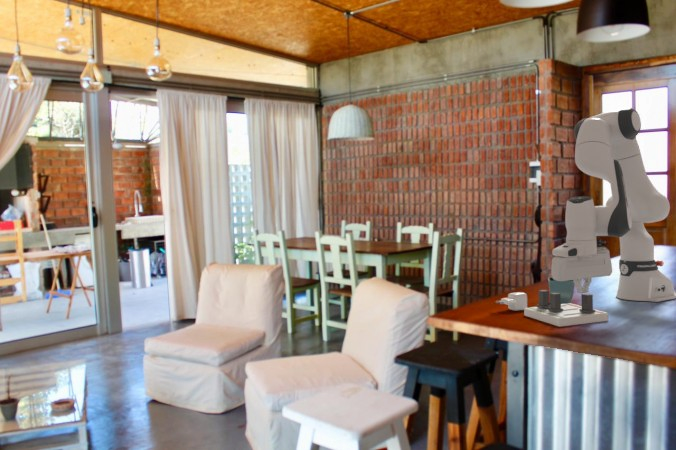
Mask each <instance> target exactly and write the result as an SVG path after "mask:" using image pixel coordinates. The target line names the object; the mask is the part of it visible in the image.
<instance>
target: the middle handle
mask: <svg viewBox="0 0 676 450" xmlns="http://www.w3.org/2000/svg"><path fill="white" fill-rule="evenodd" d="M549 305H550V308H548V310H549V311H552V312H560V311H563V309H562V308H561V294H559V293H550V292H549Z"/></svg>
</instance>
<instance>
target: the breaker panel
mask: <svg viewBox="0 0 676 450" xmlns="http://www.w3.org/2000/svg"><path fill="white" fill-rule="evenodd" d="M561 308H562V309H563V311H560V312H552V311H549V310H548V308H545V309H542V308H538V307H537V306H531V307H527V308H524V310H523V312H524V313H523V314H524V315H523V316H525V317H527V318H528V317H529V318H531V319H534V320H537V321H541V322H543V323H546V324H550V325H552V326H553V325H554V326H555V327H568V326H569V327H570V326H576V325H577V326H578V325H583V324H584V325H585V324H591V323H599V322H608V321H609V313H608V312H607V311H602V310H600V309H599V310H598V309H595V308H593V310H595V313H583V312H580V309H582V305H579V304H576V303H572V302H570V303H566V304H561Z"/></svg>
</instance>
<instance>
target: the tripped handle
mask: <svg viewBox="0 0 676 450" xmlns="http://www.w3.org/2000/svg"><path fill="white" fill-rule="evenodd" d="M580 294H581V296H580V297H581V298H580V299H581V306H582V309H580V312H583V313H595V310H596V309H595V310H593V309H594V306H593V304H594V303H593V301H594V300H593V298H594V297H593V296H594V295H593V294H592V293H580Z"/></svg>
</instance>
